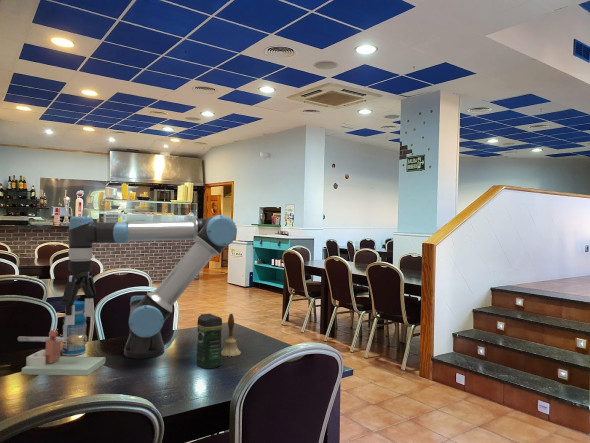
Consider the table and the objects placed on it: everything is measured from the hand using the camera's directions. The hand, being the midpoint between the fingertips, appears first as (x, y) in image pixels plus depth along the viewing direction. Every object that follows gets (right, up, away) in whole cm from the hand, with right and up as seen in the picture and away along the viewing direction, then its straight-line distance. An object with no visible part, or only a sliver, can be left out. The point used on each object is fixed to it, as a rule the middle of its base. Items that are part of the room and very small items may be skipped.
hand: (79, 320), depth 152 cm
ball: (-13, -13, -1) cm, 18 cm away
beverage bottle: (-11, -17, +17) cm, 27 cm away
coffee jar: (+44, -18, +7) cm, 48 cm away
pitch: (-5, -17, -1) cm, 17 cm away
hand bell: (+50, -19, +22) cm, 58 cm away
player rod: (-10, -14, 0) cm, 17 cm away
